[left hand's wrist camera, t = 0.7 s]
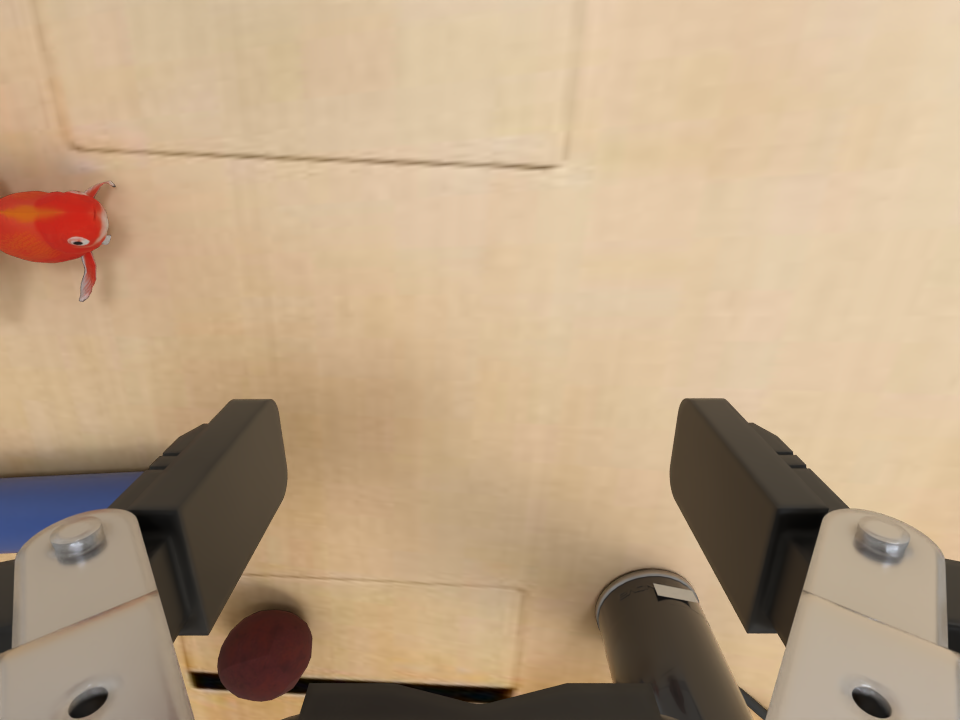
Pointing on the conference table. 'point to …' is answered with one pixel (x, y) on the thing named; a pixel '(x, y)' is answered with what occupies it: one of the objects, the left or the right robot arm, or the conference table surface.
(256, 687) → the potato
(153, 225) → the conference table surface
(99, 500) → the rod
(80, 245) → the fish
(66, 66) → the conference table surface
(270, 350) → the conference table surface
